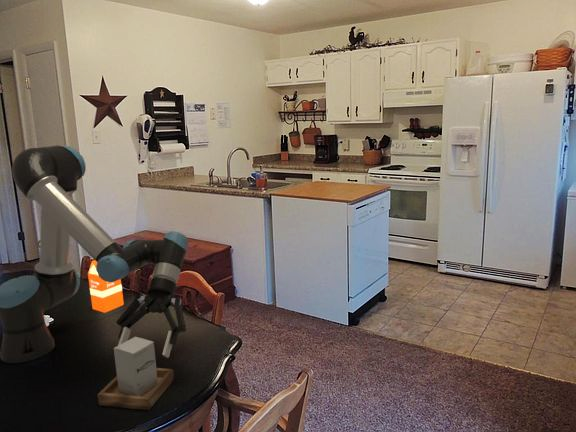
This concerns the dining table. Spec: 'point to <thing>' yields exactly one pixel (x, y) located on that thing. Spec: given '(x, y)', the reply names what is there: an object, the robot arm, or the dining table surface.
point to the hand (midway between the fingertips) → (142, 354)
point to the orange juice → (104, 291)
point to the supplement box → (135, 366)
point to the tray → (143, 402)
